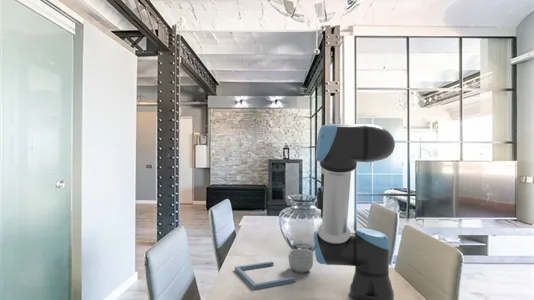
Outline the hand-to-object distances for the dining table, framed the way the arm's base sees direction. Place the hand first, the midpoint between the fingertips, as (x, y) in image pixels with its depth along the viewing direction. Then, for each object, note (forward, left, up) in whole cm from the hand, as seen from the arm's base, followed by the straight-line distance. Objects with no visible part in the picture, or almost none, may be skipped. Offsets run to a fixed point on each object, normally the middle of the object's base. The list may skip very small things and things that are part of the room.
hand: (329, 223), depth 148 cm
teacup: (0, +15, -19) cm, 24 cm away
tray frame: (-1, +33, -19) cm, 38 cm away
